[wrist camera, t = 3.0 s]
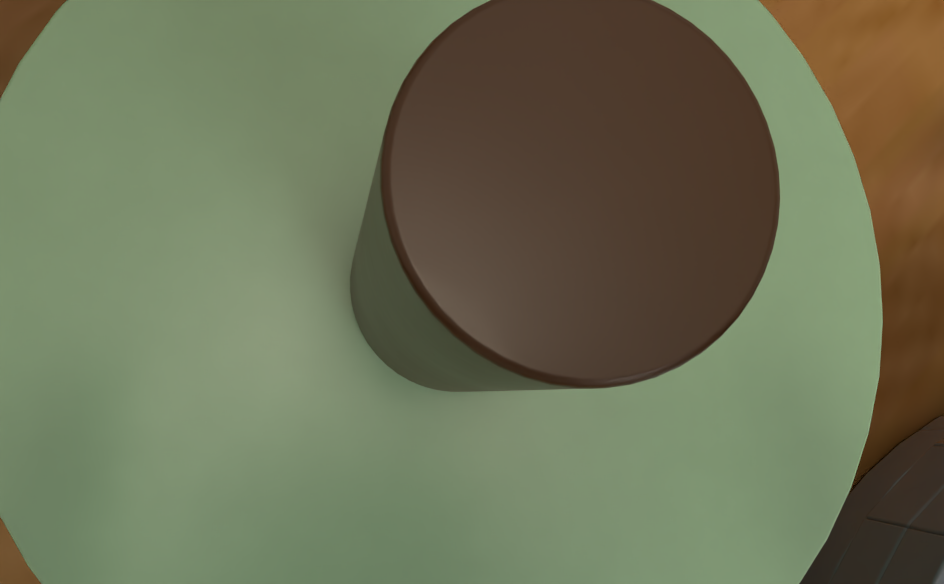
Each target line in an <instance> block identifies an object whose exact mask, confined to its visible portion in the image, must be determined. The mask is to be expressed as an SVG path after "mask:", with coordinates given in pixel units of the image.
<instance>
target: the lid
mask: <svg viewBox="0 0 944 584" xmlns="http://www.w3.org/2000/svg"><path fill="white" fill-rule="evenodd" d="M882 326H883V314H882V296H881V279H880V263H879V257H878V252H877V246H876V241H875V235H874V229H873V224H872V218H871V212H870V208H869V205H868V201H867V198H866V195H865V191H864V188H863V185H862V181H861V178H860V175H859V171H858V168H857V165H856V162H855V158H854V155H853V153H852V151H851V148H850V146H849V144H848V142H847V139H846V137H845V135H844V132H843V130H842V128H841V125H840V123H839V121H838V119H837V116H836V114H835V112H834V109H833V107H832V105H831V103H830V101H829V100H828V98H827V96H826V95H825V93H824V91H823V89H822V88H821V86H820V84H819V83H818V81H817V79H816V77H815V76H814V74H813V72H812V71H811V69H810V67H809V65H808V64H807V62H806V60H805V59H804V57H803V56H802V54H801V53H800V52H799V50H798V49H797V48H796V46H795V45H794V44H793V42H792V41H791V40H790V38H789V37H788V36H787V34H786V33H785V32H784V30H783V29H782V28H781V26H780V25H779V24H778V22H777V21H776V20H775V18H774V17H773V16H772V14H771V13H770V12H769V11H768V10H767V9H766V8H765V7H764V6H763V5H762V4H761V3H760V2H759V0H67V1H66V2H65V3H64V4H63V5H62V6H61V7H60V8H59V9H58V10H57V11H56V12H55V14H54V15H53V17H52V18H51V19H50V21H49V22H48V23H47V25H46V26H45V28H44V29H43V30H42V32H41V33H40V35H39V36H38V37H37V39H36V40H35V42H34V43H33V44H32V46H31V47H30V49H29V50H28V51H27V53H26V54H25V56H24V57H23V58H22V60H21V61H20V63H19V64H18V66H17V68H16V70H15V72H14V74H13V76H12V78H11V80H10V81H9V83H8V85H7V87H6V89H5V91H4V93H3V95H2V97H1V99H0V517H1V519H2V521H3V522H4V524H5V526H6V528H7V529H8V531H9V533H10V535H11V537H12V538H13V540H14V542H15V544H16V545H17V547H18V549H19V551H20V553H21V554H22V556H23V558H24V560H25V561H26V563H27V565H28V567H29V568H30V569H31V571H32V572H33V573H34V575H35V576H36V577H37V579H38V580H39V581H40V582H41V584H799V583H800V582H801V580H802V579H803V577H804V575H805V574H806V572H807V571H808V569H809V568H810V566H811V564H812V563H813V561H814V560H815V558H816V556H817V555H818V553H819V552H820V550H821V548H822V547H823V545H824V544H825V542H826V540H827V539H828V536H829V534H830V532H831V530H832V528H833V526H834V523H835V521H836V519H837V517H838V515H839V513H840V510H841V508H842V506H843V504H844V502H845V500H846V497H847V495H848V493H849V491H850V489H851V487H852V484H853V480H854V477H855V474H856V471H857V468H858V465H859V462H860V458H861V455H862V452H863V449H864V446H865V443H866V440H867V436H868V433H869V429H870V423H871V418H872V413H873V407H874V402H875V397H876V391H877V386H878V381H879V373H880V357H881V341H882Z"/></svg>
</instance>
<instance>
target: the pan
mask: <svg viewBox="0 0 944 584" xmlns="http://www.w3.org/2000/svg"><path fill="white" fill-rule="evenodd" d="M799 584H944V415H943V416H941V417H939V418H937V419H935V420H934V421H932V422H931V423H929V424H928V425H926V426H925V427H923V428H922V429H920V430H919V431H918V432H916V433H915V434H913V435H912V436H910V437H909V438H907V439H906V440H904V441H903V442H901V443H900V444H899V445H897V446H896V447H895V448H894V449H893V450H892V451H891V452H890V453H889V454H888V455H887V456H886V457H884V458H883V459H882V460H881V461H880V462H879V463H878V464H877V465H876V466H875V467H874V468H872V469H871V470H870V471H869V472H868V473H867V474H866V475H865V476H864V477H863V478H862V479H861V481H860V482H859V483H858V484H857V486H856V487H855V488H854V489H853V490H852V492H851V493H850V494H849V495H848V496H847V498H846V500H845V502H844V504H843V506H842V508H841V510H840V513H839V515H838V517H837V519H836V521H835V523H834V526H833V528H832V530H831V532H830V534H829V536H828V539H827V540H826V542H825V544H824V545H823V547H822V548H821V550H820V552H819V553H818V555H817V556H816V558H815V560H814V561H813V563H812V564H811V566H810V568H809V569H808V571H807V572H806V574H805V575H804V577H803V579H802V580H801V582H800V583H799Z"/></svg>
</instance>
